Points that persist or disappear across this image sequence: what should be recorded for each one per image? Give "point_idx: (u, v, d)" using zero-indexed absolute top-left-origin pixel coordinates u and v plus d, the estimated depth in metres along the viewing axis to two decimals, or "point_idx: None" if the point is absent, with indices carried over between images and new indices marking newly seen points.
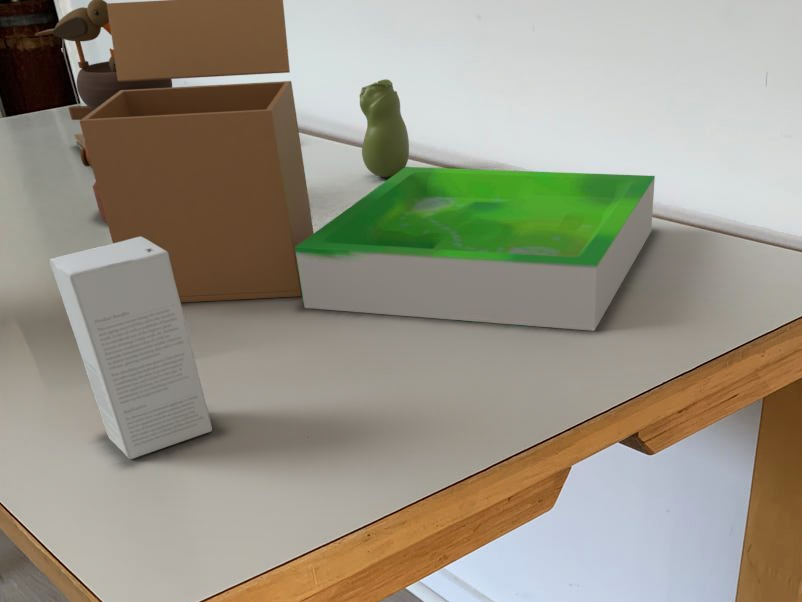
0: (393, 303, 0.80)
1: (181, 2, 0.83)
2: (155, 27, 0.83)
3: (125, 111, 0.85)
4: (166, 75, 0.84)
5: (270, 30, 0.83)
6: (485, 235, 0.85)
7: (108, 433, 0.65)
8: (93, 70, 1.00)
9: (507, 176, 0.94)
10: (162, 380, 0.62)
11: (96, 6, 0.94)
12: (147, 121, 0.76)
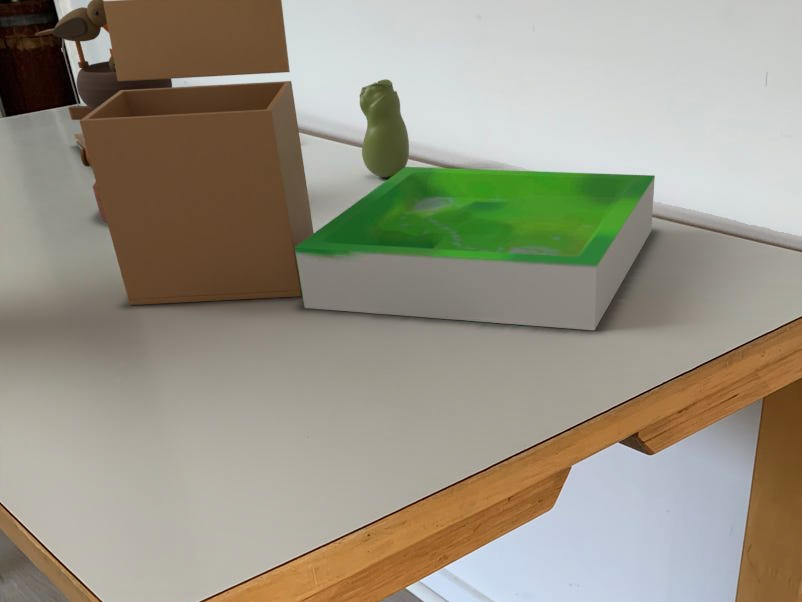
0: (393, 303, 0.80)
1: (178, 0, 0.82)
2: (153, 26, 0.83)
3: (125, 111, 0.85)
4: (166, 76, 0.84)
5: (269, 29, 0.83)
6: (485, 235, 0.85)
7: None
8: (93, 70, 1.00)
9: (507, 175, 0.94)
10: None
11: (96, 6, 0.94)
12: (147, 121, 0.76)
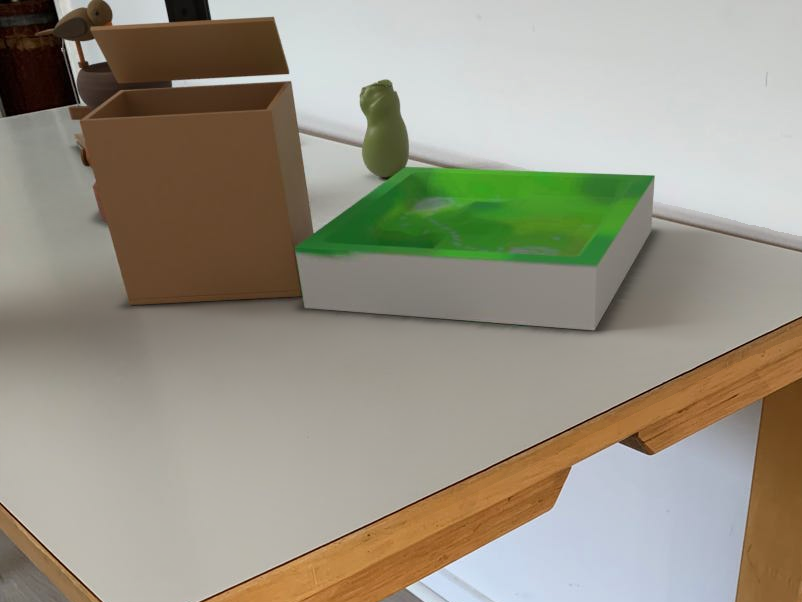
0: (393, 303, 0.80)
1: (169, 28, 0.79)
2: (146, 46, 0.81)
3: (125, 111, 0.85)
4: (166, 79, 0.84)
5: (266, 47, 0.81)
6: (485, 235, 0.85)
7: None
8: (93, 70, 1.00)
9: (507, 175, 0.94)
10: None
11: (96, 6, 0.94)
12: (147, 121, 0.76)
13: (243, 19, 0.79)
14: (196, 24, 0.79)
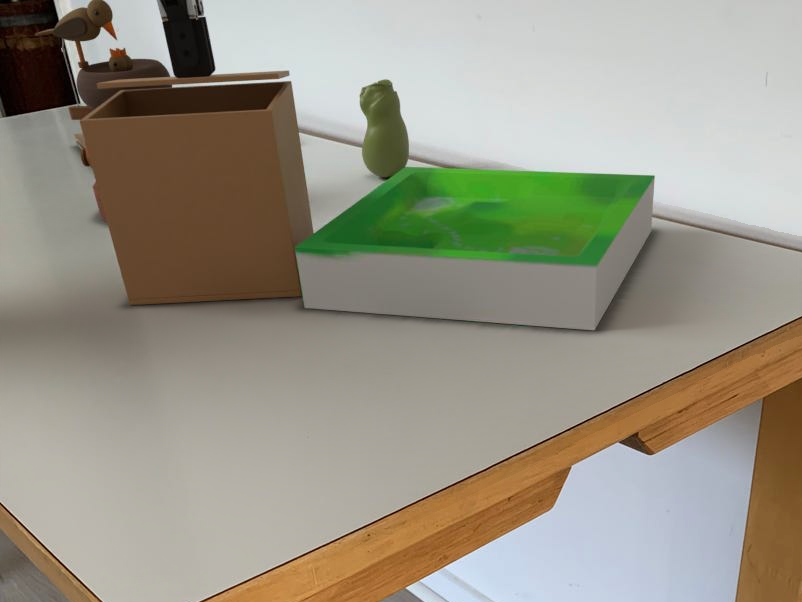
0: (393, 303, 0.80)
1: None
2: None
3: (125, 111, 0.85)
4: None
5: None
6: (485, 235, 0.85)
7: None
8: (93, 70, 1.00)
9: (507, 175, 0.94)
10: None
11: (96, 6, 0.94)
12: (147, 121, 0.76)
13: (248, 76, 0.80)
14: (201, 82, 0.80)
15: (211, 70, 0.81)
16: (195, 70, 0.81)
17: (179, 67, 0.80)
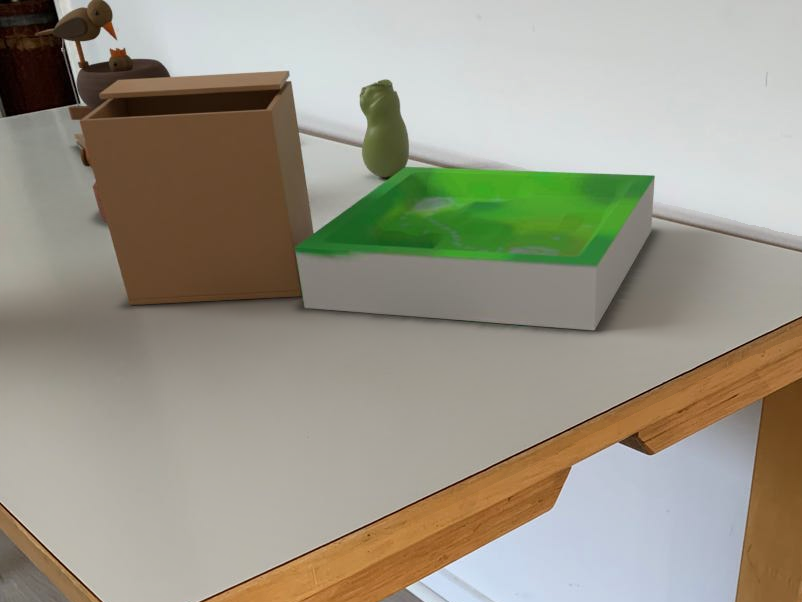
0: (393, 303, 0.80)
1: None
2: None
3: (125, 111, 0.85)
4: None
5: None
6: (485, 235, 0.85)
7: None
8: (93, 70, 1.00)
9: (507, 175, 0.94)
10: None
11: (96, 6, 0.94)
12: (147, 121, 0.76)
13: (250, 87, 0.80)
14: (204, 93, 0.80)
15: None
16: None
17: None
